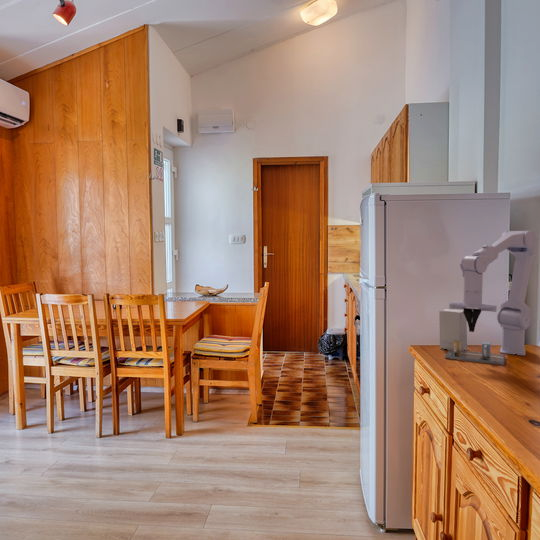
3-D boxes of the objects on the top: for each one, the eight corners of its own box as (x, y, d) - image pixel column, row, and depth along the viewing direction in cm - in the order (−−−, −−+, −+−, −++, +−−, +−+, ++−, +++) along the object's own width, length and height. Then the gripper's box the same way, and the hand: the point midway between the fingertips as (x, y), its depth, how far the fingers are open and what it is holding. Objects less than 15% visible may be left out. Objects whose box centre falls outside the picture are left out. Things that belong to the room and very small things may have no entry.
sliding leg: (482, 353, 160) (482, 341, 159) (490, 354, 158) (490, 342, 158) (480, 357, 154) (481, 345, 153) (488, 358, 153) (489, 346, 152)
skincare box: (467, 350, 170) (468, 310, 169) (460, 352, 166) (461, 312, 165) (445, 346, 176) (446, 307, 175) (438, 348, 172) (439, 309, 171)
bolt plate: (449, 351, 168) (450, 338, 167) (505, 357, 159) (505, 343, 159) (445, 358, 158) (445, 344, 158) (503, 365, 149) (504, 350, 149)
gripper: (448, 291, 155) (447, 331, 155) (496, 293, 147) (494, 335, 148) (451, 289, 161) (450, 327, 162) (497, 291, 154) (496, 331, 154)
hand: (471, 331), depth 155 cm, fingers closed
